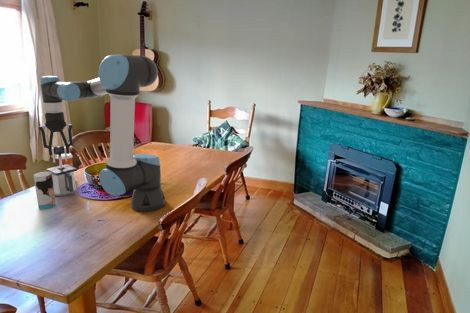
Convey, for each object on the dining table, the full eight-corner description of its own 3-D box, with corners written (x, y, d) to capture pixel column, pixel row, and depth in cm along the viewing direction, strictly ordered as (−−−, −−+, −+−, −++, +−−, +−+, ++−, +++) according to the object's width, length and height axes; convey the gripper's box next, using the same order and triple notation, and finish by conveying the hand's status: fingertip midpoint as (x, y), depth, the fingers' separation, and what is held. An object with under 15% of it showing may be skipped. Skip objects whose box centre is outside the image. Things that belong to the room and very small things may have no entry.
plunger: (75, 188, 158) (70, 146, 153) (60, 192, 153) (54, 149, 147) (67, 184, 163) (62, 143, 157) (52, 189, 157) (46, 146, 151)
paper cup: (68, 182, 170) (65, 157, 166) (55, 181, 172) (52, 155, 168) (78, 177, 178) (75, 153, 174) (66, 176, 179) (63, 152, 175)
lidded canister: (83, 193, 158) (80, 169, 154) (61, 200, 150) (58, 175, 146) (69, 186, 165) (66, 163, 162) (48, 193, 157) (44, 168, 154)
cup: (53, 209, 141) (49, 176, 137) (36, 210, 139) (31, 177, 135) (57, 202, 147) (53, 171, 143) (41, 203, 146) (36, 172, 141)
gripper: (75, 109, 154) (80, 156, 161) (31, 111, 146) (39, 161, 153) (75, 111, 148) (81, 161, 155) (30, 113, 140) (38, 165, 147)
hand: (60, 161), depth 154 cm, fingers closed on plunger, 4 cm apart
